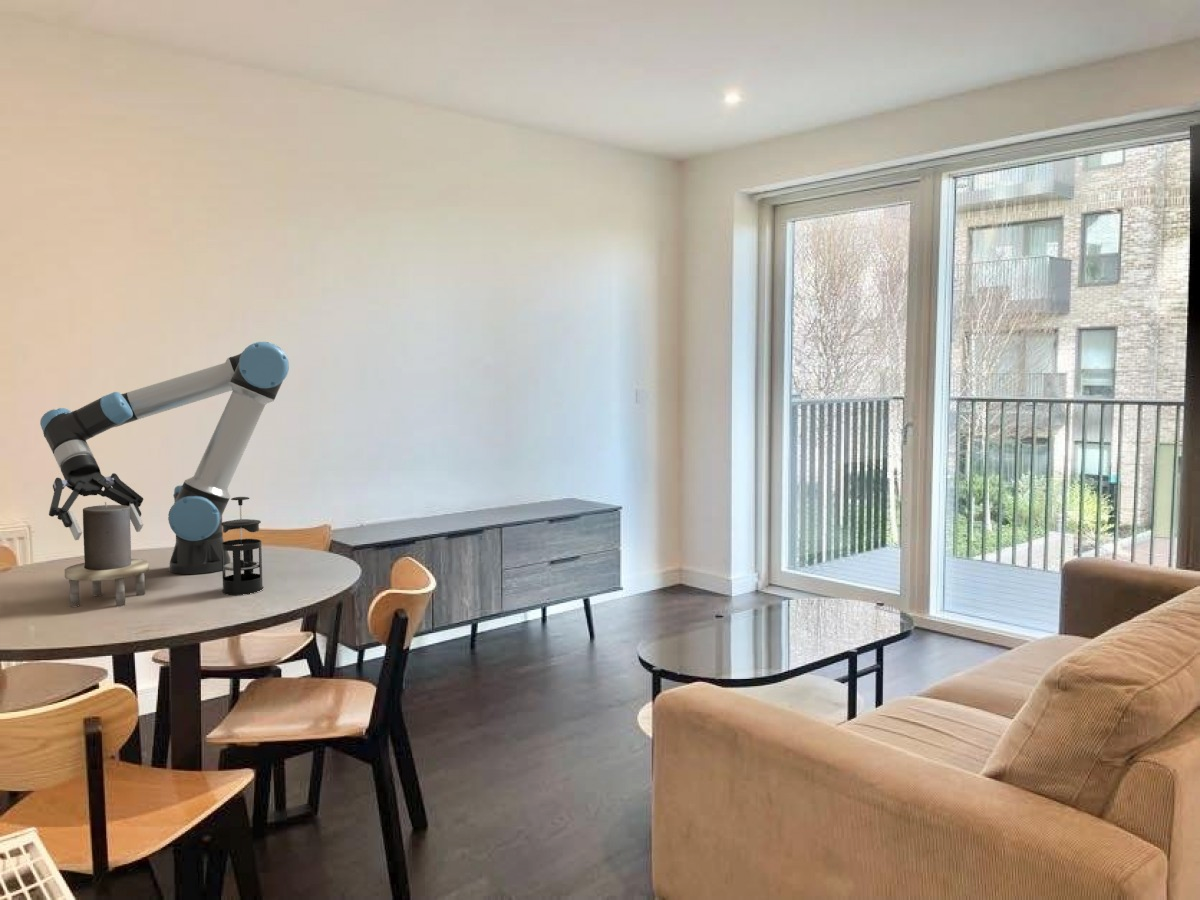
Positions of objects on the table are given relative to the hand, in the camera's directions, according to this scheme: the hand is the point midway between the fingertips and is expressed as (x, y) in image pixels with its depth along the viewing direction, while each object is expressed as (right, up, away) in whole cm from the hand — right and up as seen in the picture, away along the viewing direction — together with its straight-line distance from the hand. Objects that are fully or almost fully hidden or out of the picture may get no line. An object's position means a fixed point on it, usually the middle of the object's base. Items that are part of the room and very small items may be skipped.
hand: (110, 532), depth 200 cm
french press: (+26, -16, +12) cm, 32 cm away
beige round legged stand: (-2, -16, +2) cm, 16 cm away
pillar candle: (-2, -8, +2) cm, 9 cm away
